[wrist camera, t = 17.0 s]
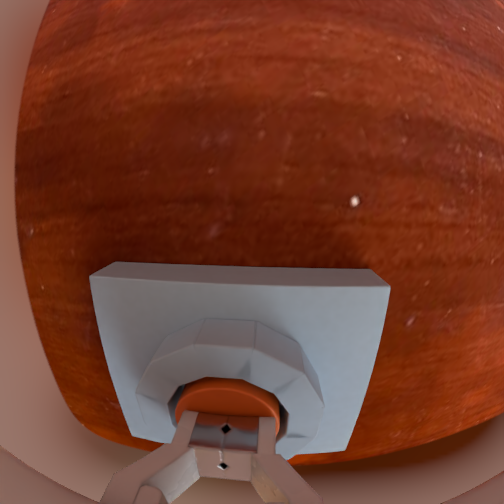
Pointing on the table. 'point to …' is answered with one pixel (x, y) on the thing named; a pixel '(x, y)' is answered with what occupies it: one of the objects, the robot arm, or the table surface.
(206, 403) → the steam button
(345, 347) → the grey mounting base
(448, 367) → the table surface
